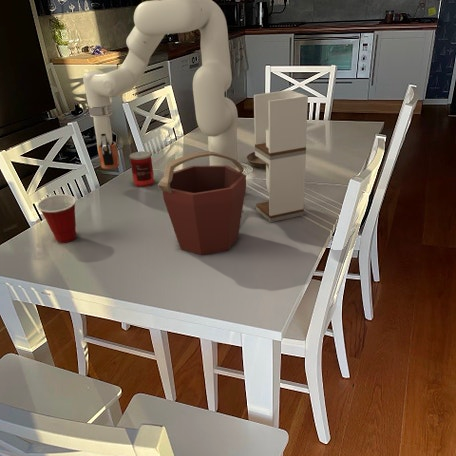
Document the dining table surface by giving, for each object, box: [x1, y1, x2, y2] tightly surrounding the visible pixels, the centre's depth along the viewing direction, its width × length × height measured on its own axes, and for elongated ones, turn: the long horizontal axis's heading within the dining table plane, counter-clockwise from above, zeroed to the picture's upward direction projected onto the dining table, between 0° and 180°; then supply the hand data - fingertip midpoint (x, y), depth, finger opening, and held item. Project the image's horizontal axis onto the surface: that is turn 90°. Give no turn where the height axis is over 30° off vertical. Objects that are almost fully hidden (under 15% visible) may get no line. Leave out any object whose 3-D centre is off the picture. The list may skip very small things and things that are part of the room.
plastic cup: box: [36, 193, 77, 244], centre depth 140 cm, size 11×11×12 cm
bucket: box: [157, 150, 247, 256], centre depth 131 cm, size 24×22×25 cm
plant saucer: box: [246, 151, 266, 169], centre depth 191 cm, size 18×18×3 cm
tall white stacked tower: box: [253, 89, 309, 223], centre depth 142 cm, size 11×11×35 cm
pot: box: [96, 140, 120, 170], centre depth 172 cm, size 7×7×8 cm
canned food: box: [129, 150, 155, 188], centre depth 177 cm, size 8×8×11 cm
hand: (109, 161), depth 174 cm, fingers closed on pot, 6 cm apart
